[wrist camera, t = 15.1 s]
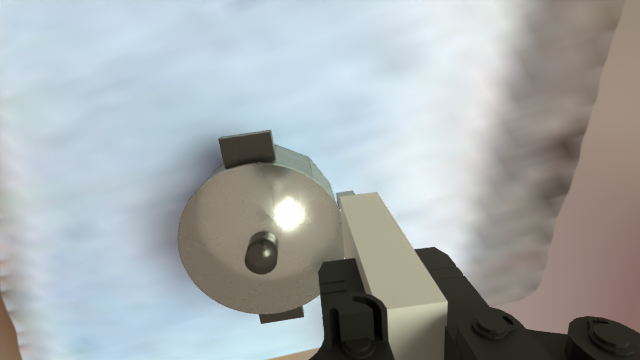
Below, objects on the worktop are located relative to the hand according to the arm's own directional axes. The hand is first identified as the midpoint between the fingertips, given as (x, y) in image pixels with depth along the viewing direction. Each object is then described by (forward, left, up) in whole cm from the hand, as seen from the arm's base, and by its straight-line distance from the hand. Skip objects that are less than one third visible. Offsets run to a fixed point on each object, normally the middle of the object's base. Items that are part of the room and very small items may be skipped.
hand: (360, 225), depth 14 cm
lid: (+10, -7, -19) cm, 23 cm away
